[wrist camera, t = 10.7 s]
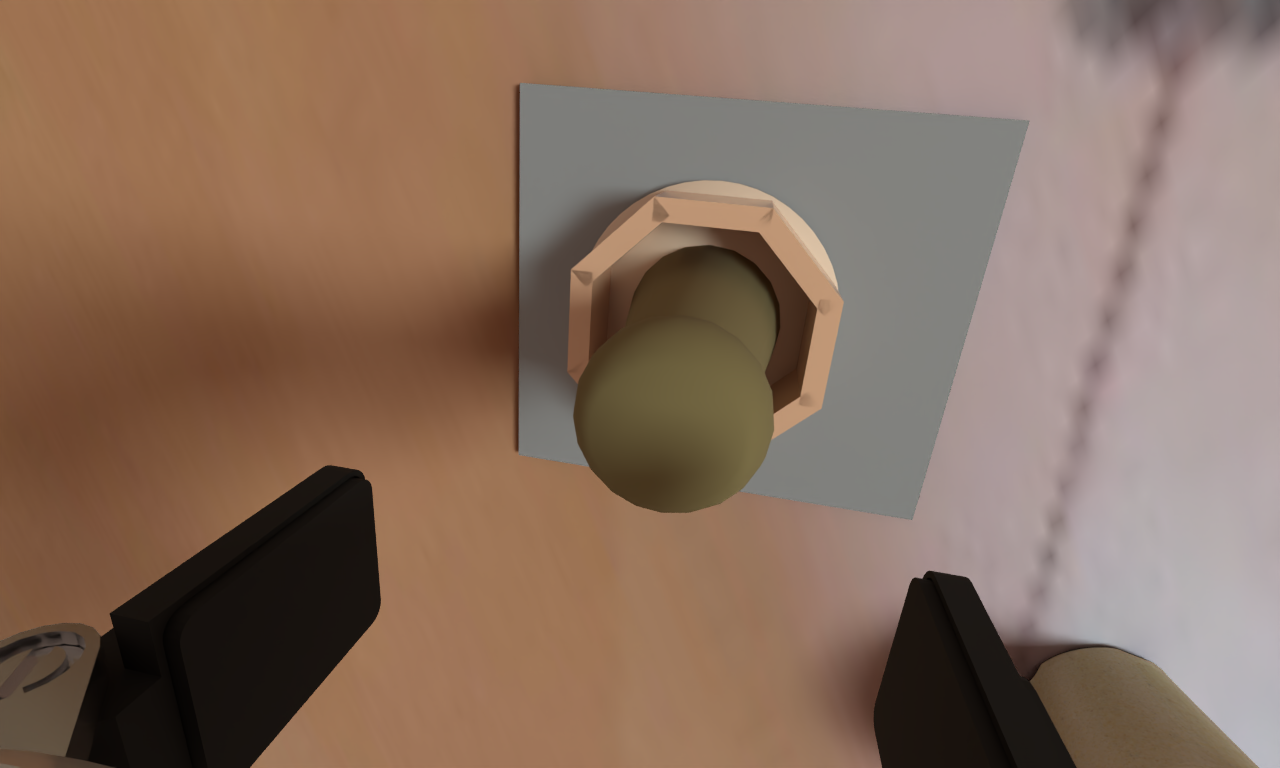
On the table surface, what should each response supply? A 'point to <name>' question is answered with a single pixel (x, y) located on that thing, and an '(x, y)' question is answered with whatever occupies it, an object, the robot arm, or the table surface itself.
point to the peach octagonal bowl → (732, 224)
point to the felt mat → (844, 224)
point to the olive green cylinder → (683, 384)
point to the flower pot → (1129, 714)
